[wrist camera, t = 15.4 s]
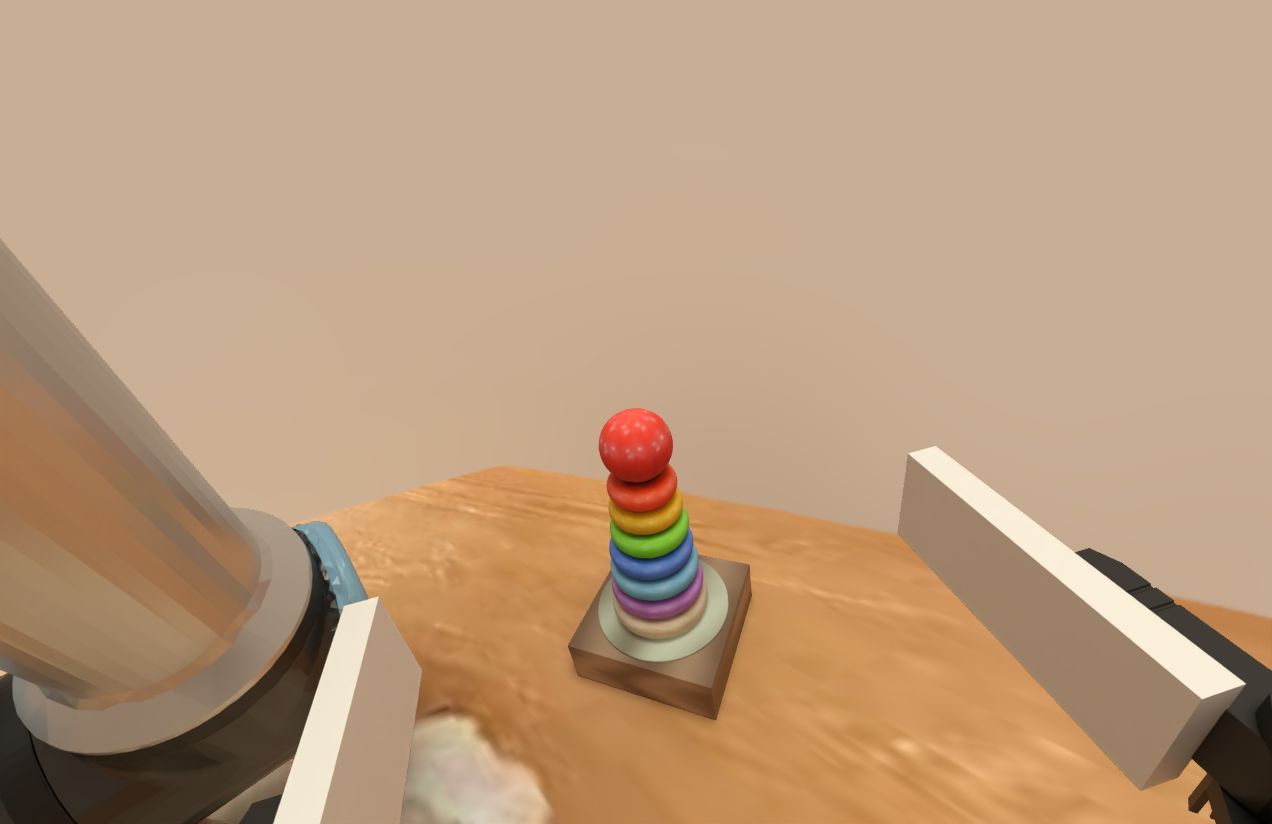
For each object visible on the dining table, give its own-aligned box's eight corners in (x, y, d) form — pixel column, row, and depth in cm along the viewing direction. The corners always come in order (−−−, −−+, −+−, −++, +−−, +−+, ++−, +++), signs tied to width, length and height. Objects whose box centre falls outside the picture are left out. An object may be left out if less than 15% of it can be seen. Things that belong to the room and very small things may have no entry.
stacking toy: (619, 653, 41) (565, 459, 32) (611, 575, 48) (565, 397, 39) (719, 633, 42) (694, 433, 32) (697, 558, 48) (671, 376, 39)
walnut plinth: (578, 675, 45) (567, 643, 43) (633, 569, 54) (626, 538, 52) (715, 719, 40) (710, 685, 38) (751, 595, 49) (749, 562, 47)
